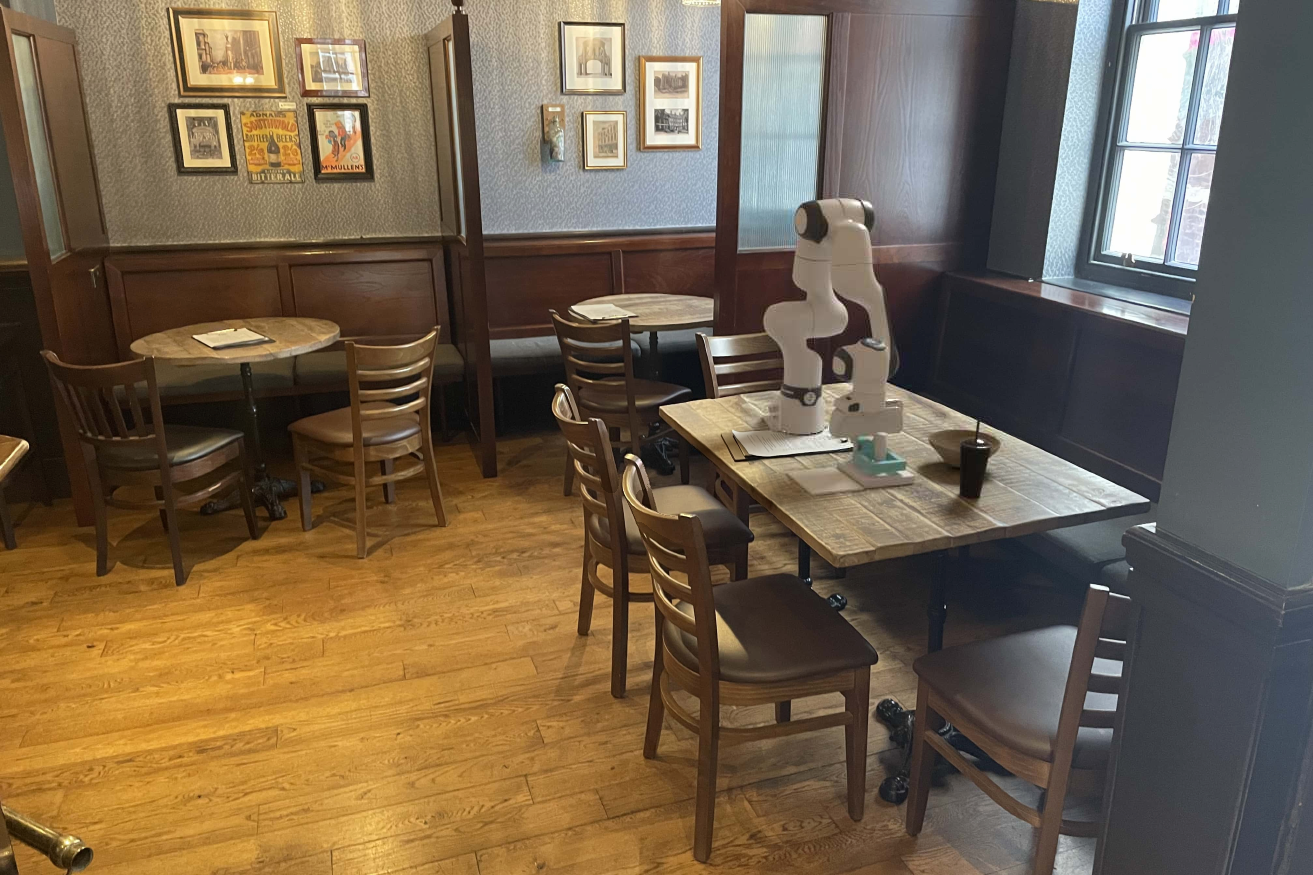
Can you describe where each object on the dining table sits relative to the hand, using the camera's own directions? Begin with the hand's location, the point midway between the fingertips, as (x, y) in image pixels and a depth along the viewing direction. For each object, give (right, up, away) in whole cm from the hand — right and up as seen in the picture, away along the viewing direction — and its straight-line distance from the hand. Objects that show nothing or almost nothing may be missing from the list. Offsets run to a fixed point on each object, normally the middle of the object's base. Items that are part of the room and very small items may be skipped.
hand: (864, 450), depth 246 cm
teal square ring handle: (+1, -3, -4) cm, 5 cm away
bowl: (+27, -5, +2) cm, 27 cm away
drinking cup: (+22, -11, -18) cm, 30 cm away
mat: (-12, -8, -9) cm, 17 cm away
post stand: (+2, -6, -4) cm, 8 cm away
